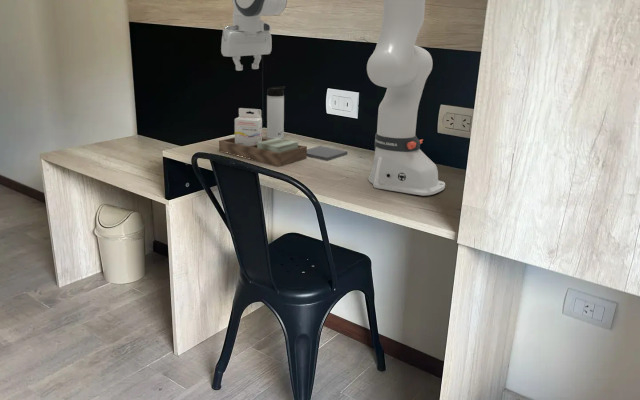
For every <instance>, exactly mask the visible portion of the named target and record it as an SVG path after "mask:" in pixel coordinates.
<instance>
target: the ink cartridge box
mask: <svg viewBox="0 0 640 400" xmlns="http://www.w3.org/2000/svg"><path fill="white" fill-rule="evenodd" d="M249 112H251V113H249ZM234 137H235V143H236V144H240V145H245V146H253V145H257V143H259V142H262V137H263V118H262V110H261V109H258V108H246V107H245V108H244V107H239V108H238V117H236V118H234Z"/></svg>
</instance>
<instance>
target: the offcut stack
mask: <svg viewBox="0 0 640 400" xmlns="http://www.w3.org/2000/svg"><path fill="white" fill-rule="evenodd" d="M298 145H299V141H295V140H290V139H286V138H283V139H280V138H275V139H271V140H267V141H263V142H259V143H257V148H259V149H263V150H268V151H272V152H277V153H281V152H285V151H288V150H292V149H296V148H298Z"/></svg>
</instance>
